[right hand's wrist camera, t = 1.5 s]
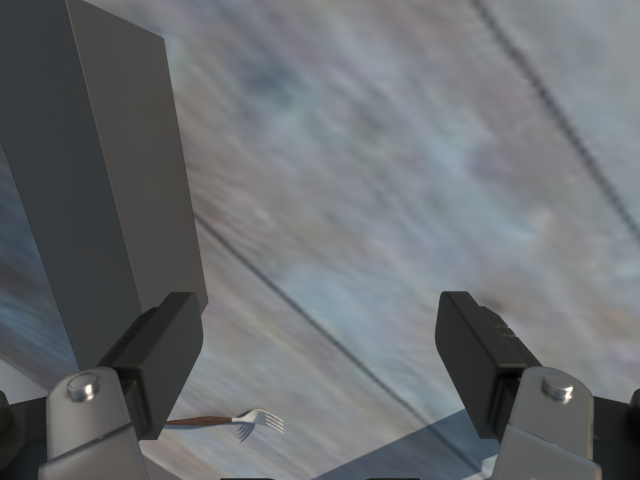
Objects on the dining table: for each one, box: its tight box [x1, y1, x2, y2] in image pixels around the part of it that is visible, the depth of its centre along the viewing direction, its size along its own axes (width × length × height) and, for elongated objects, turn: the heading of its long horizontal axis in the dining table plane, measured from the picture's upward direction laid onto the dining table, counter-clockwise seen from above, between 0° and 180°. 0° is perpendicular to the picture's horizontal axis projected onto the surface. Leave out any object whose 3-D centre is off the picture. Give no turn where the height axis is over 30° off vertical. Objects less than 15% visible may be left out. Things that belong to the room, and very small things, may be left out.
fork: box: [165, 409, 284, 434], centre depth 45 cm, size 3×16×2 cm, turn 93°
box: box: [0, 0, 208, 370], centre depth 29 cm, size 27×6×13 cm, turn 2°
